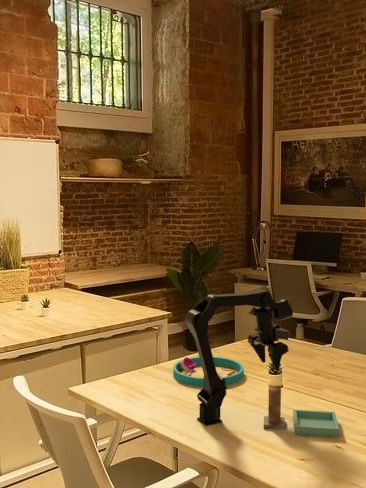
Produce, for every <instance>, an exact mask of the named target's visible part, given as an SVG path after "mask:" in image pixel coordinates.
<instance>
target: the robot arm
mask: <svg viewBox="0 0 366 488" xmlns="http://www.w3.org/2000/svg"><path fill="white" fill-rule="evenodd" d="M236 306H237V307H238V306H251V307H252V309H251V310H250V311H249V313H248V314H249V315H252V316H254V317H255V323H256V326H255V327H254V331H255V332H254V333H251V334H249V335H248V336H247V342H248V343H249V344H250V347H252V349H253V351H254V352H255V353H256V354H257V357H258V358H259V359H260V361H261V363H263V364H264V363H266V347H267V352H268V353H267V354H268V357H269V359H270V361H271V364H272V366H273V368H274V371H279V370H280V367H281V362H282V361H281V360H282V358H283V355H285V354H287V353H288V352H289V351H290V350H289V345H287V344H286V343H284V342H282V341H280V340H285V341H288V340H289V337H290V330H287V329H285V328H282V327H281V326H280V325H279V324H277V323H276V324H275V323H273V322H274V321H276V322H279V321H284V320H287V319H289V318H290V319H291V318H292V317H293V315H294V310H293V308H292V306H291V304H290V303H289V300H288V299H286V298H284V299H280V300H278V301H275V300H274V299H273V295H272V293H270V292H269V291H266V290H264V289H261V288H253V289H250V290H248V291H246V292H239V293H223V294H221V293H220V294H213V293H211V294H208V295H207V296H206V297H205V298H204V299H202V301H200V302H198V303H197V304H195V306H194V307H193V308H191V309H190V310H188V311H187V312H186V314H185V316H184V320H185V321H184V322H185V324H186V326H187V328H188V330H189V332H191V333H190V334H192V336H193V338H194V343H195V345H196V349H197V354H198V357H199V358H200V361H201V365H200V366H201V369H202V373H203V377H202V378H203V387H202V388H201V390H200V391H199V392H198V393H197V395H196V397H197V400H198V401H199V402H200V403H199V405H198V406H199V417H197V418H196V420H197V421H199V422H200V423H201V424H203V425H205V426H207V427H208V426H212V425H216V424H220V423H223V420H222V419H221V407H222V405H223V404H222V403H223V401H224V399H225V397H226V396H227V390H228V388H229V387H227V386H226V384H225V378H223V377H224V376H222V375H220V374H219V373H218V372H217V368H216V365H215V363H214V359H213V357H214V356H213V352H212V349H211V348H212V347H211V345H210V340H209V337H208V336H209V331H210V328H209V322H210V321H211V319H212V318H213V317H214V315H215V313H216V310H217V309H218V308H220V307H221V308H222V307H236ZM273 320H274V321H273Z"/></svg>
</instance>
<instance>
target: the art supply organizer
mask: <svg viewBox="0 0 366 488" xmlns="http://www.w3.org/2000/svg"><path fill="white" fill-rule="evenodd" d="M213 359H214V363H215V366H221V365H222V367H224V368H221V369H222V371H224V372H225V371H226V370H228V371H227V372H229V370H230V369H232V371H231V372H229V373H227V375H226V376H222V377H223V378H225V384H226V387H227V386H233V385H235V384H237V383H240V382H241V380H243V379H244V375H245V373H244V370H245V369H244V366H243V364H242V363H240V362H239V361H236V360H234V359H232V358H231V359H230V358H227V357H222V356H213ZM196 366H202V365H201V361H200V358H199V356H194V357H185V358H184V359H181V360H178V361H177V362H175V363H174V364H173V367H172V368H173V370H172V372H173V373H172V374H173V375H172V376H173V377H172V378H174V380H175V381H177V382H179V383H182V384H183V385H186V386H192V387H199V388H203V378H204V377H199V376H192V372H193V371H194V370H195V369H196ZM226 366H227V368H226ZM230 367H231V368H230ZM229 368H230V369H229ZM182 369H183V370H184V371H185V372H184V373H185V374H184V373H181V372H180V370H182ZM235 369H236V371H235ZM234 383H235V384H234Z"/></svg>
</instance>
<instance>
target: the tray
mask: <svg viewBox="0 0 366 488" xmlns="http://www.w3.org/2000/svg"><path fill="white" fill-rule="evenodd" d="M292 411H293V412H292V421H293V422H292V423H293V430H294V431H293V432H294V433H293V434H294V436H299V437H300V436H301V437H314V438H315V437H318V438H329V439H330V438H331V439H332V438H333V439H340V427H339V422H338V419H337V415H336V411H328V410H327V411H326V410H308V409H306V410H305V409H293V410H292Z"/></svg>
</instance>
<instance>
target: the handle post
mask: <svg viewBox="0 0 366 488" xmlns="http://www.w3.org/2000/svg"><path fill="white" fill-rule="evenodd" d="M281 392H282V386H281V385H268V416H267V415H264V416H263V430H278V431H286V418H285V416H281V410H282V409H281V408H282V407H281V406H282V405H281V403H282V393H281Z"/></svg>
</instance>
